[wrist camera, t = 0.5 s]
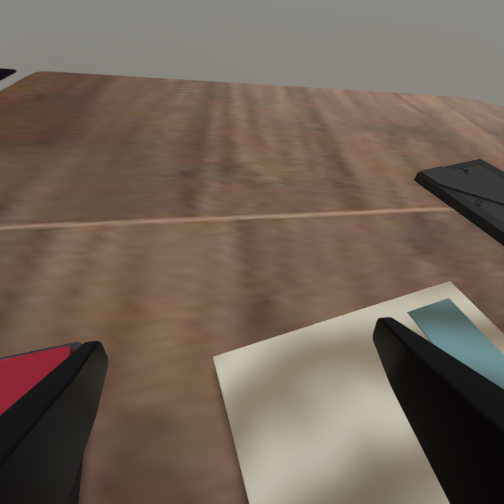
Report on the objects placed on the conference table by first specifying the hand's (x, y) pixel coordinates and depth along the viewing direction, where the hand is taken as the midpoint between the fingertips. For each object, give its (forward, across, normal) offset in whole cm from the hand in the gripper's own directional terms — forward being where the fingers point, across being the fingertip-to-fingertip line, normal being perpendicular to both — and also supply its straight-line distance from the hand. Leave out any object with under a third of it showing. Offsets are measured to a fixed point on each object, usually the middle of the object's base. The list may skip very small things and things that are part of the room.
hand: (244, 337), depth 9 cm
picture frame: (+27, -37, +8) cm, 47 cm away
